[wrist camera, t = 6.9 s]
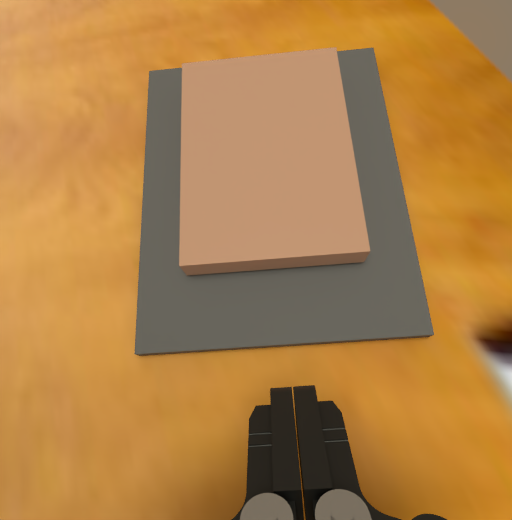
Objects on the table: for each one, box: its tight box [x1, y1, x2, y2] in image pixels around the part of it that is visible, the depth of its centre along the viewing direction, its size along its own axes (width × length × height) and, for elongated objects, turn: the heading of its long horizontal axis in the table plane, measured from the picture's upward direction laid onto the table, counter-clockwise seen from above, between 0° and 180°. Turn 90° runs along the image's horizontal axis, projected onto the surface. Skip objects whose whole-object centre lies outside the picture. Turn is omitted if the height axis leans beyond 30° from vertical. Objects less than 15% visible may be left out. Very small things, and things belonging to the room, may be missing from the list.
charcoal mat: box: [135, 48, 434, 356], centre depth 24 cm, size 20×16×1 cm
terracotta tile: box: [179, 47, 370, 275], centre depth 23 cm, size 2×10×14 cm
